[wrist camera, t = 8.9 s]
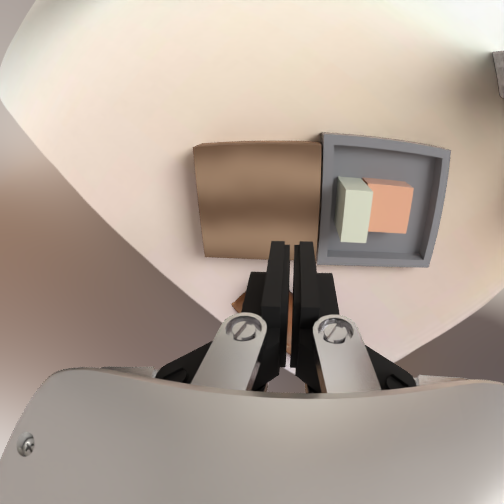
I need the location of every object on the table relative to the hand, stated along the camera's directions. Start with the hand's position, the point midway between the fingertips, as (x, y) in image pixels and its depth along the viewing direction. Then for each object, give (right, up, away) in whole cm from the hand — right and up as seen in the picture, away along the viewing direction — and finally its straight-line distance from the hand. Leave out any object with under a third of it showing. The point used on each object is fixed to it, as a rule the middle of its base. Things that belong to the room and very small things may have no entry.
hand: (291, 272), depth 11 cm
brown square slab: (-1, +7, +18) cm, 19 cm away
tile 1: (+12, +5, +14) cm, 19 cm away
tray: (+13, +6, +16) cm, 21 cm away
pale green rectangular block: (+7, +5, +15) cm, 17 cm away
